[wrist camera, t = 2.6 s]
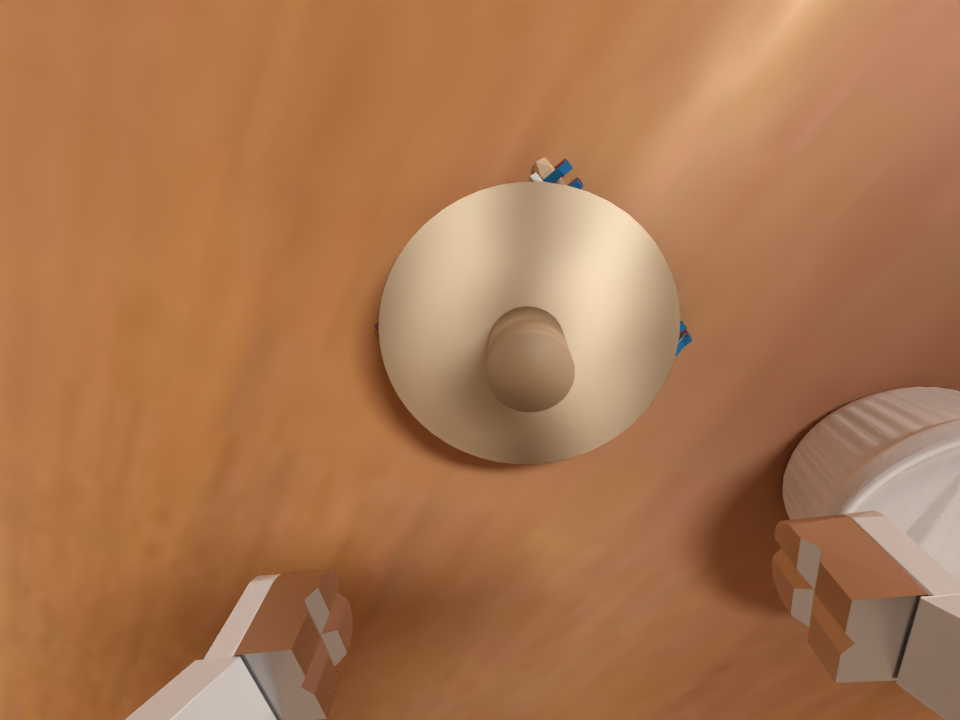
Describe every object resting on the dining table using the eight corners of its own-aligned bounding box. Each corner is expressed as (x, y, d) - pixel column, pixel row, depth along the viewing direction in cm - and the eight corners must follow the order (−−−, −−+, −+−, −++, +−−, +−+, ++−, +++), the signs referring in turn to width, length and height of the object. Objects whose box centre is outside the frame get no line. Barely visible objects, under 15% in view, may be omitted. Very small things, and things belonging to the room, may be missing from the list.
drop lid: (669, 150, 16) (716, 146, 12) (676, 435, 20) (711, 491, 17) (346, 215, 17) (306, 229, 14) (421, 468, 22) (406, 526, 18)
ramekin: (734, 415, 22) (802, 488, 17) (1002, 324, 19) (1170, 379, 14) (781, 572, 25) (846, 667, 21) (1008, 512, 23) (1142, 604, 18)
